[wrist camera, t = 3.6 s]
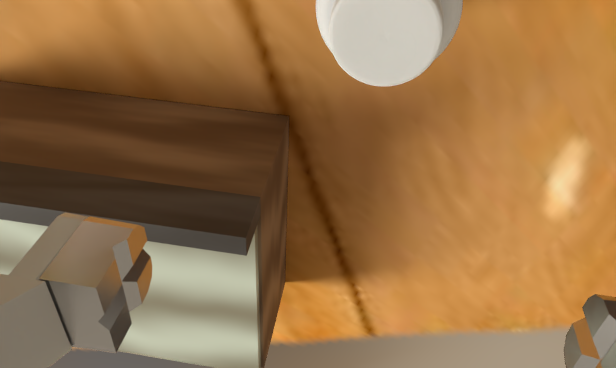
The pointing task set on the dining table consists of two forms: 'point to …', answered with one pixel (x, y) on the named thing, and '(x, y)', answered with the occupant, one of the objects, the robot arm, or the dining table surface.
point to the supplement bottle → (387, 36)
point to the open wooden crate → (159, 208)
